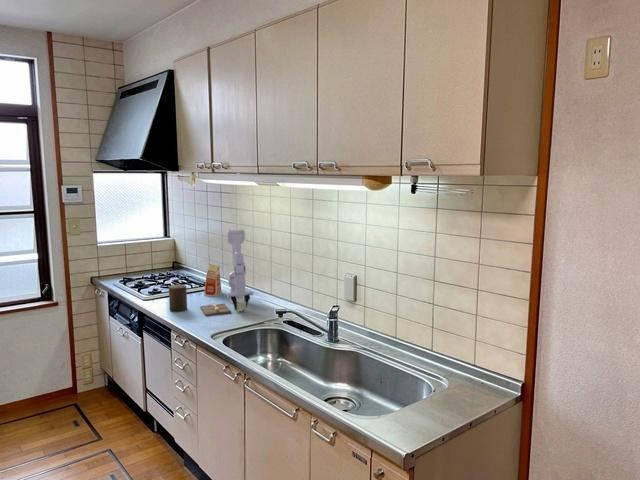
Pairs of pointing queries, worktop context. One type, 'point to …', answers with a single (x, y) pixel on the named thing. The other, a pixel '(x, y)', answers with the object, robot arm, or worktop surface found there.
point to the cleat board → (212, 312)
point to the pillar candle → (177, 298)
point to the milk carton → (213, 281)
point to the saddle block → (241, 305)
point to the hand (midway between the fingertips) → (240, 308)
